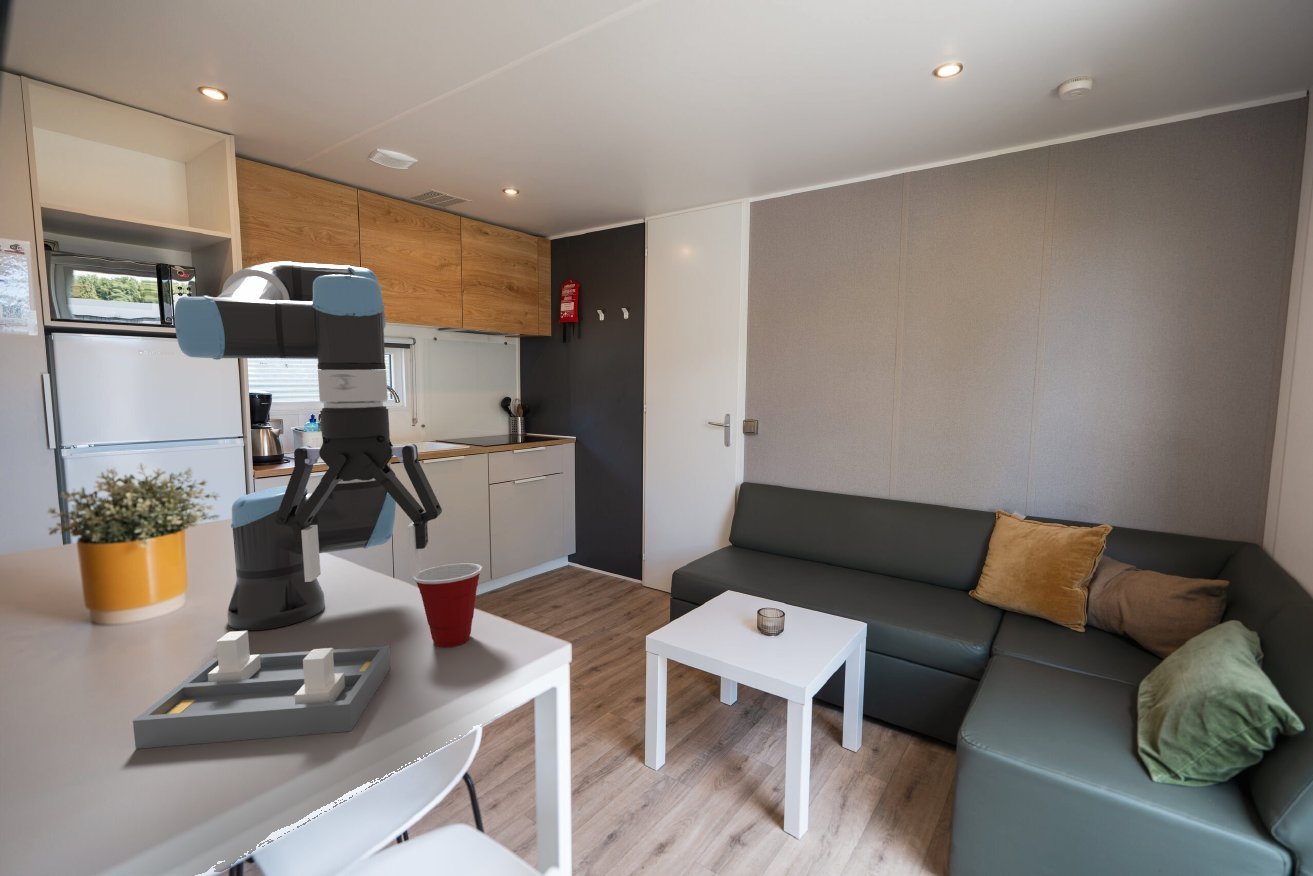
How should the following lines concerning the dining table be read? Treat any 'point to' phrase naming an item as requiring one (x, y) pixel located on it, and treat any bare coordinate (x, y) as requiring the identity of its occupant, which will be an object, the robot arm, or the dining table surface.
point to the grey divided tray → (261, 702)
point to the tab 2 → (320, 678)
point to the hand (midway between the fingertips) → (364, 575)
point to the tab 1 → (234, 658)
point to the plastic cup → (449, 601)
